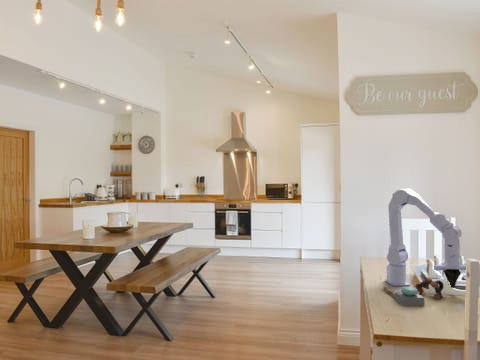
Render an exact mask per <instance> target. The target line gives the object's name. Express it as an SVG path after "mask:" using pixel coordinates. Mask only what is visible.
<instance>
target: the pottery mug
mask: <svg viewBox="0 0 480 360" xmlns="http://www.w3.org/2000/svg"><path fill="white" fill-rule="evenodd" d="M429 286H431V288H433V289H434V291H435V294H434V295H433V296H434V297H435V300H436V301H437V300H440V299H442V298H443V295H442V291H443V290H444V283H443V281H441V280H436V281H434V280H432V278H427V279H425V280H423V281H421V282H420V283H416V284H415V285H414V288H415V289H417V290H418V292H419V293H420V294H423V293H424V289H426V290H430V287H429Z"/></svg>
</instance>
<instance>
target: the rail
mask: <svg viewBox="0 0 480 360" xmlns="http://www.w3.org/2000/svg"><path fill="white" fill-rule="evenodd" d="M383 291H384V292H386V293H387V294H388V295H390V296H391V297H392V298H394V299H395V292H394V291H393V290H391V289H390V288H389V287H387V286H383Z"/></svg>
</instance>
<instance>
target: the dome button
mask: <svg viewBox="0 0 480 360" xmlns="http://www.w3.org/2000/svg"><path fill="white" fill-rule="evenodd" d="M400 289H401V290H400V292H402V293H403V294H407V296H412V295H417V294H419V293H418V292H419V291H418V290H417V289H416V287H412V286H411V287H410V286H409V287H408V286H402V287H401V288H400Z"/></svg>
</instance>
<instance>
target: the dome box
mask: <svg viewBox="0 0 480 360" xmlns="http://www.w3.org/2000/svg"><path fill="white" fill-rule="evenodd" d="M394 293H395V298H394V299H395V300H396V301H397V302H399V304H401V305H402V306H404V307H405V306H406V307H407V306H409V307H410V306H412V307H415V306H425V297H424V296H422V295H421V294H419V293H418V294H417V295H412V296H407V294H403V293H402V292H401V291H395V292H394Z"/></svg>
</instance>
